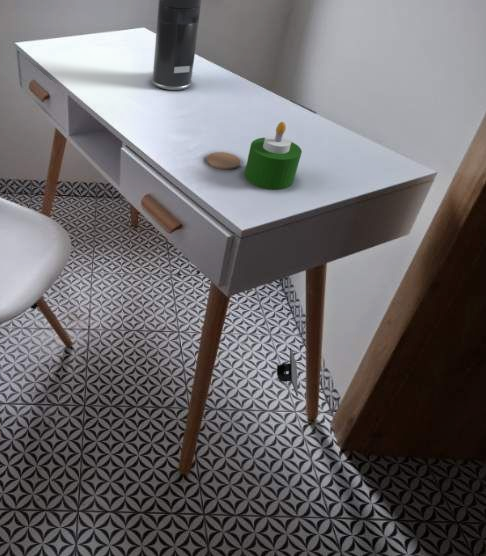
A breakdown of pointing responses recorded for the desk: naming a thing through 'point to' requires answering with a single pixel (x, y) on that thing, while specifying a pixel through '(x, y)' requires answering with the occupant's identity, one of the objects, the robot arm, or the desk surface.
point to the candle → (273, 161)
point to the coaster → (223, 160)
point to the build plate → (292, 372)
